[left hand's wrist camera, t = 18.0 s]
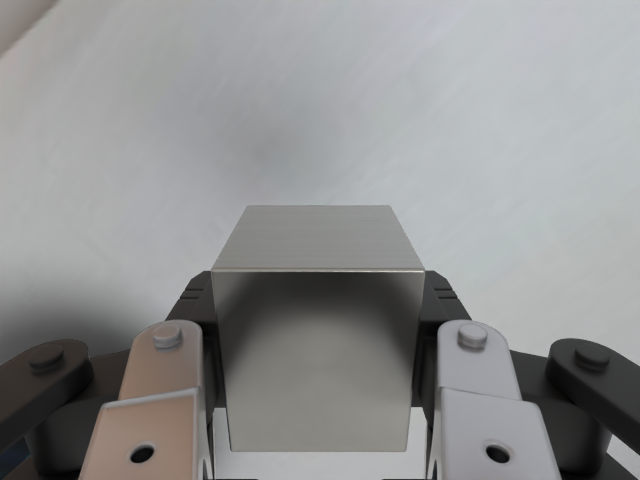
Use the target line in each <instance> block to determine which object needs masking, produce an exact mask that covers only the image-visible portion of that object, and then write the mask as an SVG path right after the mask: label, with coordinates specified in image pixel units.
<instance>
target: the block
mask: <svg viewBox="0 0 640 480" xmlns="http://www.w3.org/2000/svg"><path fill="white" fill-rule="evenodd" d="M211 276H212V286H213V295H214V304H215V313H216V322H217V331H218V341H219V350H220V359H221V368H222V377H223V387H224V396H225V405H226V414H227V423H228V432H229V442H230V449H231V451H233V452H405V451H406V449H407V441H408V432H409V422H410V413H411V403H412V393H413V384H414V374H415V365H416V355H417V346H418V336H419V327H420V317H421V308H422V298H423V289H424V279H425V269H424V267H423V265H422V263H421V261H420V259H419V258H418V256H417V254H416V252H415V250H414V248H413V247H412V245H411V243H410V241H409V239H408V237H407V236H406V234H405V232H404V230H403V228H402V227H401V225H400V223H399V221H398V219H397V217H396V216H395V214H394V212H393V210H392V208H391V206H247V208H246V209H245V211H244V213H243V215H242V216H241V218H240V220H239V222H238V223H237V225H236V227H235V229H234V230H233V232H232V234H231V236H230V237H229V239H228V241H227V243H226V244H225V246H224V248H223V250H222V251H221V253H220V255H219V257H218V258H217V260H216V262H215V264H214V265H213V267H212V269H211Z"/></svg>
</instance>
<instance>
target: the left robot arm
mask: <svg viewBox="0 0 640 480" xmlns="http://www.w3.org/2000/svg"><path fill="white" fill-rule="evenodd" d="M411 407H422V408H423V411H424V414H425V417H426V420H427V423H426V431H425V456H424V479H383V480H638V479H637V478H636V477H634V476H633V475H632V474H631V473H630V472H629V471H628V470H626V469H625V468H624V467H623V466H622V465H621V464H619V463H618V462H617V461H616V460H615V459H614V458H612V457H611V456H610V455H609V454H608V453H607V452H606V451H607V448H608V445H609V443H610V440H611V437H612V434H614V435H615V436H616V437H617V438H619V439H620V440H621V441H622V442H624V443H625V444H626V445H627V446H629V447H630V448H631V449H632V450H634V451H635V452H636V453H637V454H639V455H640V366H638V365H637V364H635V363H633V362H632V361H630V360H628V359H627V358H625V357H624V356H622V355H620V354H619V353H617V352H615V351H613V350H612V349H610V348H608V347H605V346H603V345H600V344H598V343H595V342H591V341H587V340H582V339H573V338H568V339H560V340H557V341H555V342H554V343H553V344H552V345H551V348H550V351H549V355H548V358H547V357H542V356H536V355H531V354H526V353H521V352H517V351H512V350H509V347H508V343H507V340H506V339H505V337H504V336H503V335H502V334H501V333H500V332H499V331H497V330H496V329H494V328H492V327H490V326H488V325H486V324H483V323H480V322H476V321H472V319H471V317H470V316H469V314H468V313H467V311H466V310H465V308H464V306H463V305H462V303H461V302H460V300H459V299H458V297H457V295H456V294H455V292H454V291H453V290H452V287H451V286H450V284H449V282H448V281H447V279H446V278H444V277H443V276H441V275H440V274H438V273H437V272H435V271H425V279H424V289H423V298H422V308H421V317H420V327H419V336H418V346H417V355H416V365H415V374H414V384H413V393H412V403H411ZM214 408H226V405H225V396H224V387H223V377H222V368H221V359H220V350H219V341H218V331H217V322H216V313H215V304H214V295H213V286H212V276H211V271H203V272H202V273H200V274H199V275H197V276H196V277H194V278H193V279H191V281H190V282H189V284H188V285H187V287H186V288H185V291H184V292H183V293H182V295H181V296H180V299H178V301H177V302H176V304H175V306H174V307H173V309H172V310H171V312H170V313H169V315H168V317H167V318H166V320H165V321H164V322H160V323H157V324H154V325H152V326H150V327H148V328H146V329H144V330H143V331H141V332H140V333H139V334H138V335H137V336H136V337H135V339H134V341H133V343H132V347H131V349H129V350H126V351H122V352H118V353H113V354H108V355H103V356H98V357H92V358H90V355H89V351H88V347H87V346H86V344H85V343H83V342H81V341H78V340H70V339H66V340H56V341H51V342H47V343H44V344H41V345H38V346H35V347H33V348H31V349H29V350H27V351H25V352H23V353H21V354H20V355H18V356H16V357H15V358H13V359H12V360H10V361H8V362H7V363H5V364H3V365H2V366H0V455H1V454H3V453H4V452H5V451H6V450H8V449H9V448H10V447H11V446H13V445H14V444H15V443H16V442H18V441H19V440H20V439H21V438H23V437H25V440H26V443H27V446H28V449H29V452H30V454H31V455H30V456H29V457H28V458H26V459H25V460H24V461H23V462H22V463H21V464H19V465H18V466H17V467H16V468H15V469H14V470H12V471H11V472H10V473H9V474H8V475H7V476H5V477H4V478H3V479H2V480H257V479H216V456H215V430H214V422H213V411H214Z"/></svg>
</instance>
